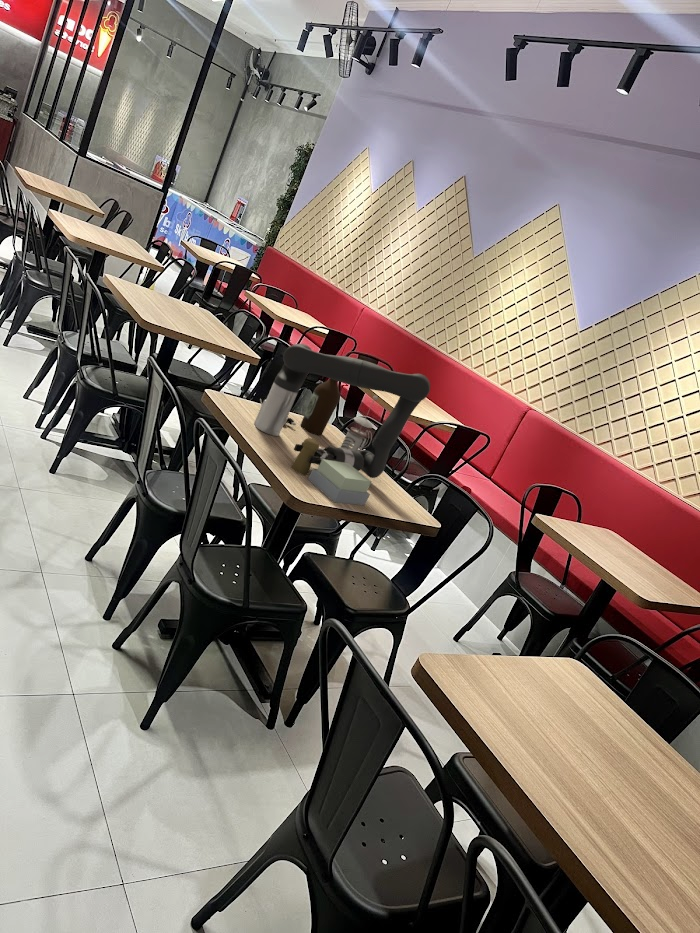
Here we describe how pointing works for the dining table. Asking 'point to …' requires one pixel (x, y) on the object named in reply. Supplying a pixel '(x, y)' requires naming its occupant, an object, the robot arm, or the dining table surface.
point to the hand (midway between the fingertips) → (302, 453)
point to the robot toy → (286, 419)
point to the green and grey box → (341, 482)
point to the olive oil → (321, 407)
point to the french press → (357, 434)
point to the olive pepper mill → (305, 456)
